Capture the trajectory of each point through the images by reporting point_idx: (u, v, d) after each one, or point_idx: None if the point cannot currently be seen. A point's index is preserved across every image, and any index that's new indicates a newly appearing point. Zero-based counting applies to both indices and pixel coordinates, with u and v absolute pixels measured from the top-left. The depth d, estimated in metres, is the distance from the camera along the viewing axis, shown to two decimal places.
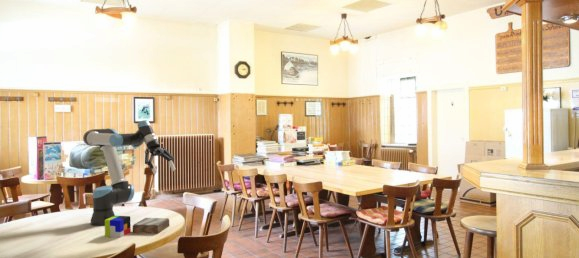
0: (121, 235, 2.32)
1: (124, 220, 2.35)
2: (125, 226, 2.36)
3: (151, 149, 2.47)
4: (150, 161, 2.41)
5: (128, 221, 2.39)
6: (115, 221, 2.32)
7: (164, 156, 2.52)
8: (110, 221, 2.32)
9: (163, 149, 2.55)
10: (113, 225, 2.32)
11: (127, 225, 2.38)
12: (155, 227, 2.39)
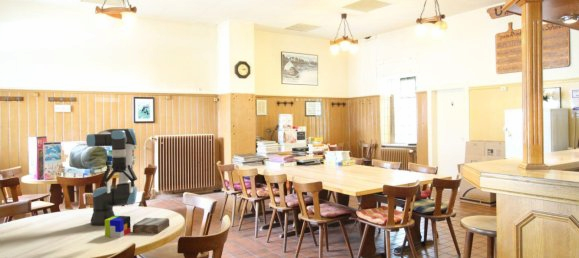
0: (121, 235, 2.32)
1: (124, 220, 2.35)
2: (125, 226, 2.36)
3: (113, 166, 2.36)
4: (105, 180, 2.36)
5: (128, 221, 2.39)
6: (115, 221, 2.32)
7: None
8: (110, 221, 2.32)
9: None
10: (113, 225, 2.32)
11: (127, 225, 2.38)
12: (155, 227, 2.39)
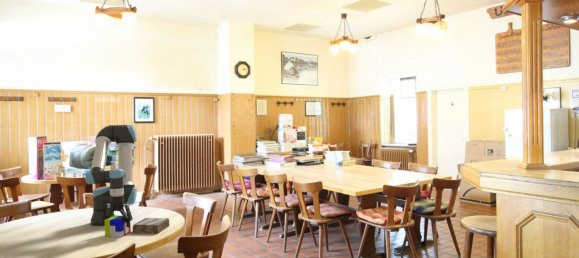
0: (121, 235, 2.32)
1: (124, 220, 2.35)
2: None
3: (111, 204, 2.36)
4: None
5: None
6: (115, 221, 2.32)
7: None
8: (110, 221, 2.32)
9: None
10: (113, 225, 2.32)
11: None
12: (155, 227, 2.39)
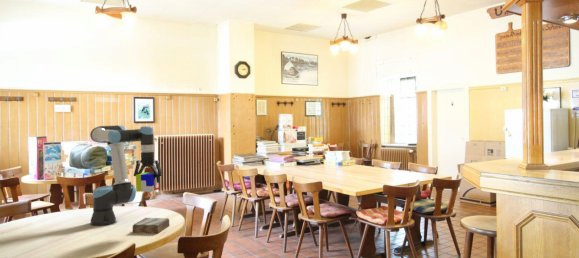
0: (152, 189, 2.40)
1: (154, 175, 2.43)
2: None
3: (141, 160, 2.44)
4: None
5: None
6: (146, 176, 2.40)
7: None
8: (141, 176, 2.41)
9: None
10: (144, 179, 2.40)
11: None
12: (155, 227, 2.39)
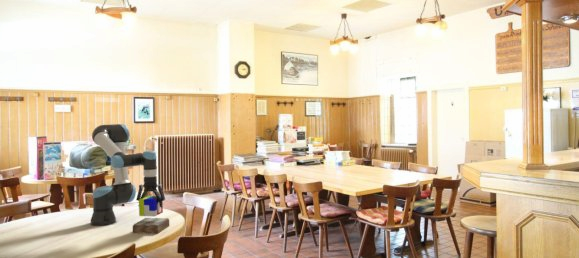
0: (155, 214, 2.42)
1: (157, 200, 2.45)
2: None
3: (144, 185, 2.46)
4: None
5: None
6: (149, 200, 2.41)
7: None
8: (144, 200, 2.42)
9: None
10: (147, 204, 2.42)
11: None
12: (155, 227, 2.39)
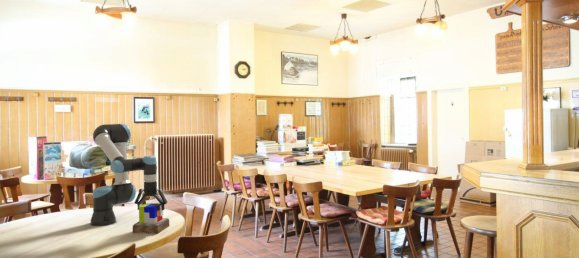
0: (155, 221, 2.42)
1: (157, 207, 2.45)
2: (158, 212, 2.46)
3: (144, 190, 2.46)
4: (137, 203, 2.46)
5: None
6: (149, 208, 2.42)
7: None
8: (144, 208, 2.42)
9: None
10: (147, 212, 2.42)
11: None
12: (155, 227, 2.39)
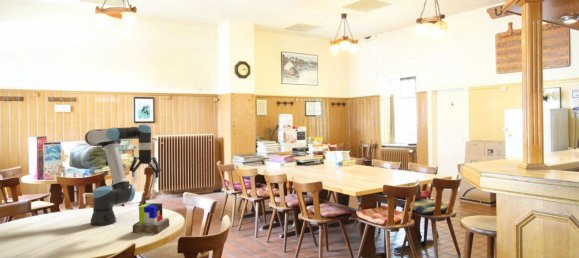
0: (155, 221, 2.42)
1: (157, 207, 2.45)
2: (158, 212, 2.46)
3: (139, 157, 2.52)
4: (132, 170, 2.53)
5: (160, 208, 2.49)
6: (149, 208, 2.42)
7: None
8: (144, 208, 2.42)
9: None
10: (147, 212, 2.42)
11: (160, 212, 2.49)
12: (155, 227, 2.39)
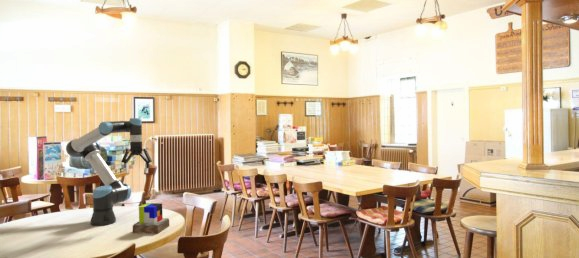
0: (155, 221, 2.42)
1: (157, 207, 2.45)
2: (158, 212, 2.46)
3: (130, 149, 2.67)
4: (124, 162, 2.68)
5: (160, 208, 2.49)
6: (149, 208, 2.42)
7: None
8: (144, 208, 2.42)
9: None
10: (147, 212, 2.42)
11: (160, 212, 2.49)
12: (155, 227, 2.39)
